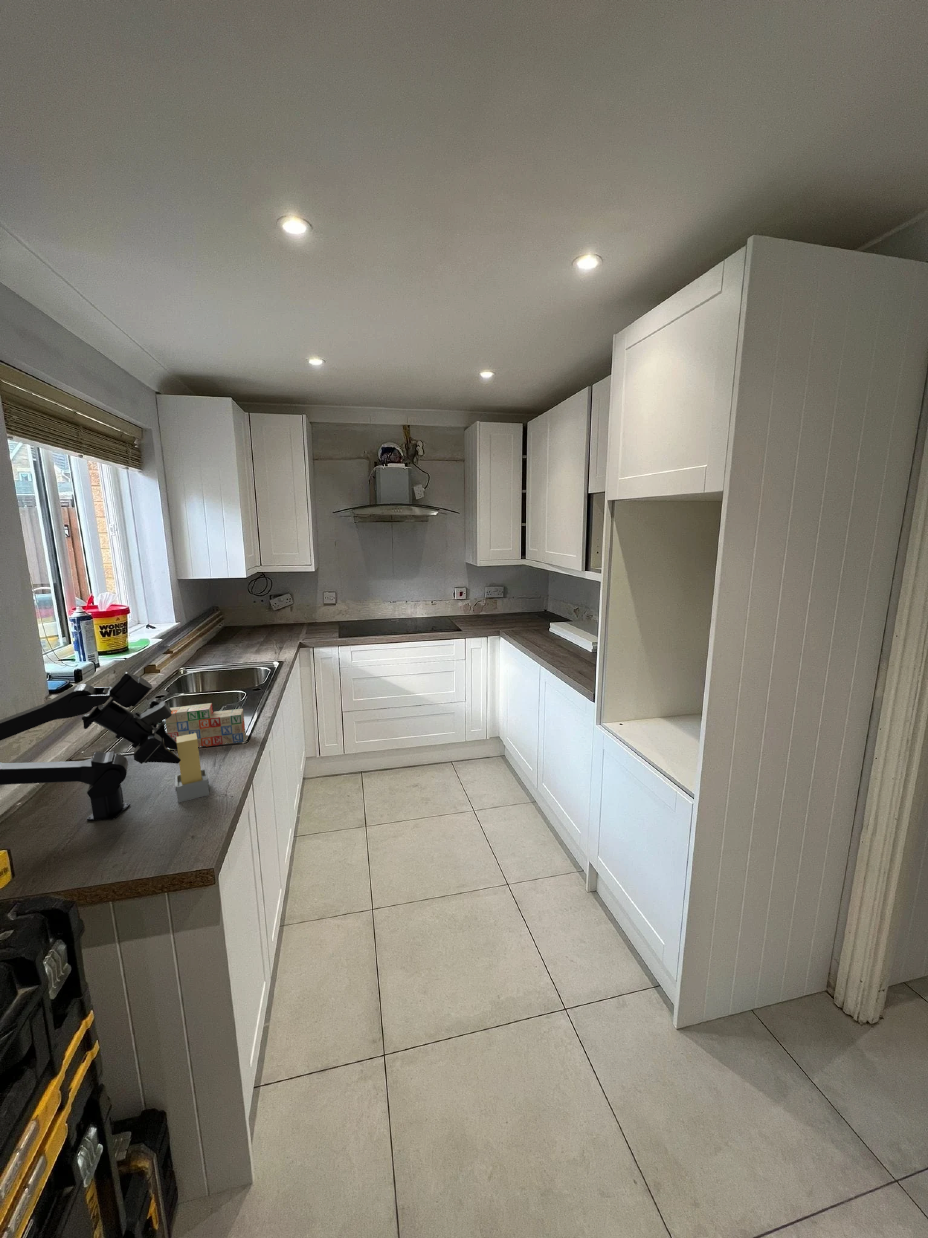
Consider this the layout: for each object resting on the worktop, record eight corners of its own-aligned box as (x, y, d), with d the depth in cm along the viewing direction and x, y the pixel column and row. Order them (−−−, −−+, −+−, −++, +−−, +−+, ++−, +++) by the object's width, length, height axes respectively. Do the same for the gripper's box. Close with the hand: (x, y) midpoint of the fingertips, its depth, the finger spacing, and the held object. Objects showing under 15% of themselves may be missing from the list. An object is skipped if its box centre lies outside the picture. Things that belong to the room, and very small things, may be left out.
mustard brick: (182, 788, 125) (176, 743, 123) (181, 780, 129) (176, 736, 127) (202, 783, 127) (197, 739, 125) (201, 776, 131) (196, 733, 129)
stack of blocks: (246, 734, 166) (242, 699, 164) (243, 742, 160) (240, 705, 158) (174, 743, 160) (169, 707, 158) (168, 751, 154) (164, 713, 152)
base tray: (177, 803, 124) (175, 787, 123) (176, 790, 130) (175, 775, 129) (210, 795, 127) (208, 779, 127) (208, 783, 134) (206, 768, 133)
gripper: (144, 705, 112) (204, 741, 120) (147, 684, 128) (200, 717, 136) (106, 746, 110) (170, 780, 117) (114, 720, 126) (170, 751, 133)
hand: (179, 754), depth 126 cm, fingers open, 9 cm apart
